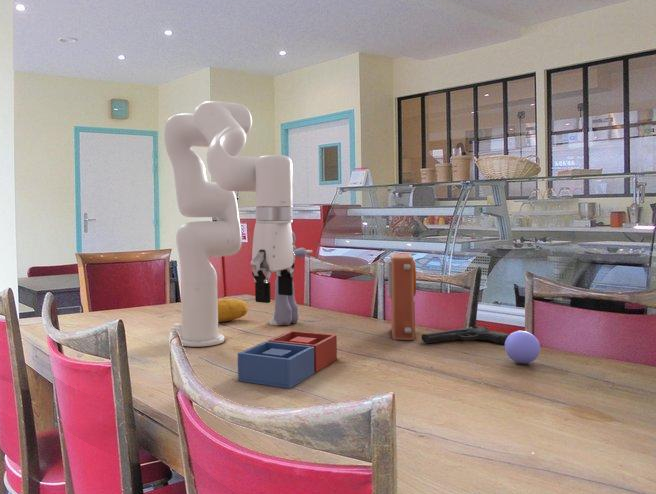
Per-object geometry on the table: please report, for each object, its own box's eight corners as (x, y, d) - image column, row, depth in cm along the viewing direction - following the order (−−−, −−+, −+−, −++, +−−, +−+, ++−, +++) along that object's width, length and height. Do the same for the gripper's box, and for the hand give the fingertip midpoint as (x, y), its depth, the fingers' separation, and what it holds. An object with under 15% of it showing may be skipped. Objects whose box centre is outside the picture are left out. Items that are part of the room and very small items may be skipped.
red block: (289, 361, 128) (288, 340, 128) (298, 356, 132) (297, 336, 132) (308, 363, 126) (307, 342, 126) (316, 358, 130) (316, 338, 130)
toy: (299, 314, 188) (297, 222, 188) (320, 316, 184) (319, 222, 183) (244, 330, 164) (242, 225, 164) (267, 334, 159) (265, 225, 159)
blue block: (261, 375, 117) (261, 353, 117) (272, 369, 121) (272, 348, 121) (281, 378, 115) (281, 355, 115) (292, 372, 119) (291, 350, 119)
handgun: (453, 355, 136) (419, 342, 147) (515, 344, 143) (478, 333, 154) (453, 343, 135) (419, 331, 146) (515, 333, 143) (478, 322, 154)
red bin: (267, 365, 127) (267, 340, 127) (291, 353, 137) (290, 330, 137) (316, 372, 121) (315, 345, 121) (337, 359, 131) (336, 334, 131)
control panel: (413, 329, 162) (417, 341, 147) (388, 328, 163) (389, 340, 148) (412, 253, 161) (416, 257, 147) (387, 253, 163) (388, 257, 148)
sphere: (505, 366, 123) (505, 333, 123) (503, 358, 129) (503, 327, 129) (542, 368, 120) (541, 335, 120) (538, 360, 127) (538, 328, 127)
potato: (202, 320, 181) (202, 299, 181) (244, 317, 185) (244, 296, 185) (208, 325, 174) (208, 302, 173) (252, 321, 178) (251, 299, 178)
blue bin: (238, 380, 116) (237, 353, 116) (265, 366, 126) (265, 341, 126) (289, 388, 110) (289, 359, 110) (314, 373, 120) (314, 346, 120)
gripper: (277, 214, 128) (278, 291, 128) (236, 216, 113) (236, 303, 113) (308, 214, 124) (308, 293, 125) (269, 217, 109) (270, 307, 110)
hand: (274, 298), depth 119 cm, fingers open, 9 cm apart
